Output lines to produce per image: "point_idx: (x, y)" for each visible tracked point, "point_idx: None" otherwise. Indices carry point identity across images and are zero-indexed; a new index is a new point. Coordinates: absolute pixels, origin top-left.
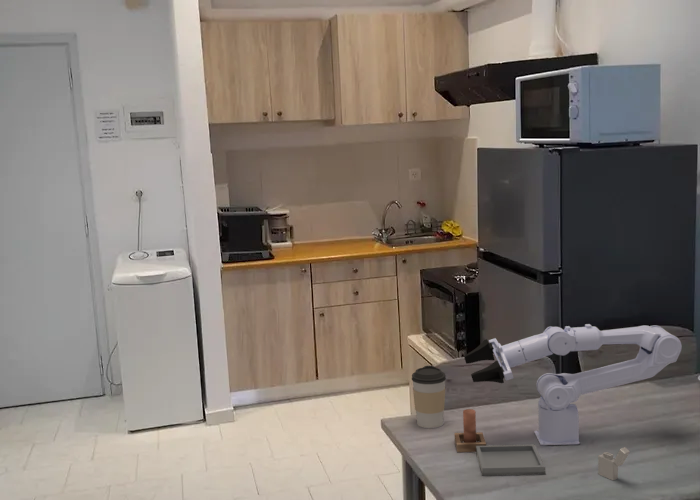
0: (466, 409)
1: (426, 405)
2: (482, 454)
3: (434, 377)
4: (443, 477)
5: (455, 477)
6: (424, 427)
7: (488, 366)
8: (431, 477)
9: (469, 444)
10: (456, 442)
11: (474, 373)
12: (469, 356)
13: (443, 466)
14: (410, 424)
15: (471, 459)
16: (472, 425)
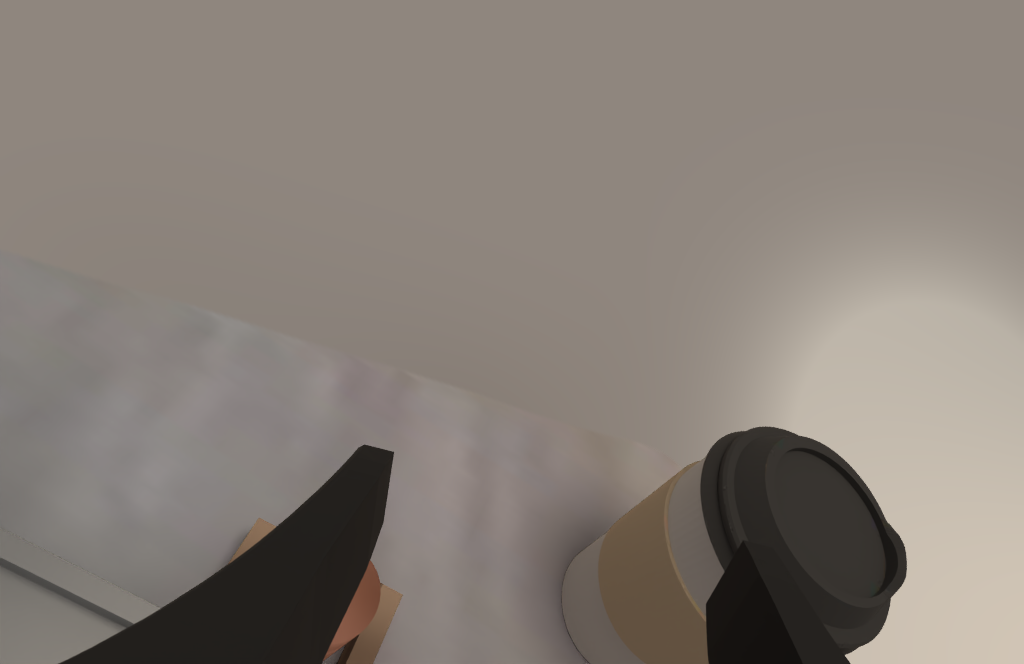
0: (378, 594)
1: (629, 516)
2: (94, 627)
3: (749, 510)
4: (56, 320)
5: (4, 358)
6: (578, 554)
7: (269, 627)
8: (102, 286)
9: None
10: None
11: (359, 466)
12: (753, 604)
13: (159, 387)
14: None
15: (119, 551)
16: None
